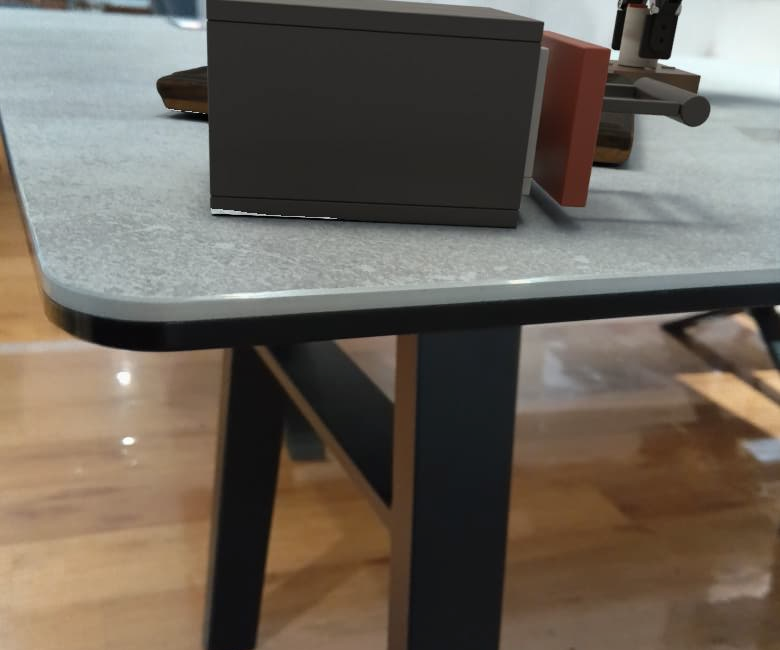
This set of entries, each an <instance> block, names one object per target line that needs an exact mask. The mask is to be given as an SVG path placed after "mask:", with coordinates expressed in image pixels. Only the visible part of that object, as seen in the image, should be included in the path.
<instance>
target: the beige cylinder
mask: <svg viewBox="0 0 780 650" xmlns="http://www.w3.org/2000/svg"><path fill="white" fill-rule="evenodd" d="M645 14H650V7H649V4H646V5H639V4H628V7H627V12H626V18H625V24H624V29H623V35H622V41H621V47H620V51H619V54H618V59H617V60H618V64H620V65H624V66H631V67H641V68H645V67H648V68H656V67H657V63H659V59H645V58H640V57H639V56H638V52H639V46H640V41H641V35H642V30H643V24H644V18H645ZM650 15H651V14H650Z"/></svg>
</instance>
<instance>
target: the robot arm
mask: <svg viewBox="0 0 780 650" xmlns="http://www.w3.org/2000/svg"><path fill="white" fill-rule="evenodd" d="M648 1H649V8H650V14H651V15H650V14H645V18H644V24H643V30H642V35H641V41H640V46H639V52H638V56H639V57H640V58H645V59H658V60H660V61H668V60H670V59H671V57H672V53H673V48H674V43H675V37H676V32H677V28H678V22H679V17H680V15H681V13H682V9H683V6H682V5H683V0H617V4H616V8H617V10H616V15H615V21H614V27H613V32H612V39H611V45H610V49H611V50H613V51H616V52H617V51H619V52H620V47H621V41H622V35H623V29H624V24H625V18H626V12H627V7H628V4H639V5H648Z"/></svg>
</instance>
